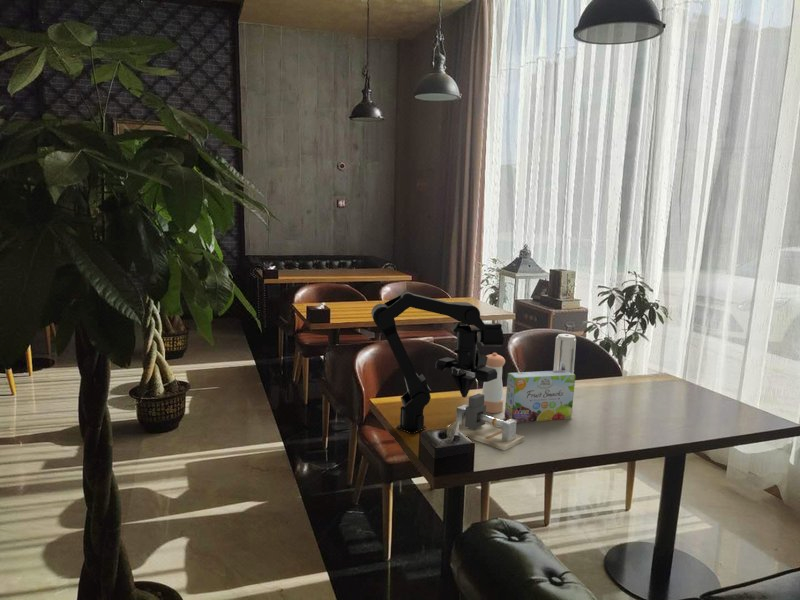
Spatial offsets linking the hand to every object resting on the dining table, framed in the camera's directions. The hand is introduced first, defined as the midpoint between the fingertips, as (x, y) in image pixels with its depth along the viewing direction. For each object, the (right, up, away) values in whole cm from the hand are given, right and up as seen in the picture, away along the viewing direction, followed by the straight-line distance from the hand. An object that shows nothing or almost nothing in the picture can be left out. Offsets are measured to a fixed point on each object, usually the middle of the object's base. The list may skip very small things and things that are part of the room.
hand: (464, 397), depth 168 cm
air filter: (+35, -8, +22) cm, 42 cm away
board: (+5, -10, -4) cm, 12 cm away
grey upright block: (+3, -8, -2) cm, 9 cm away
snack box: (+25, -9, +11) cm, 28 cm away
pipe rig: (+5, -9, -4) cm, 12 cm away
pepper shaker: (+11, -7, +18) cm, 22 cm away
